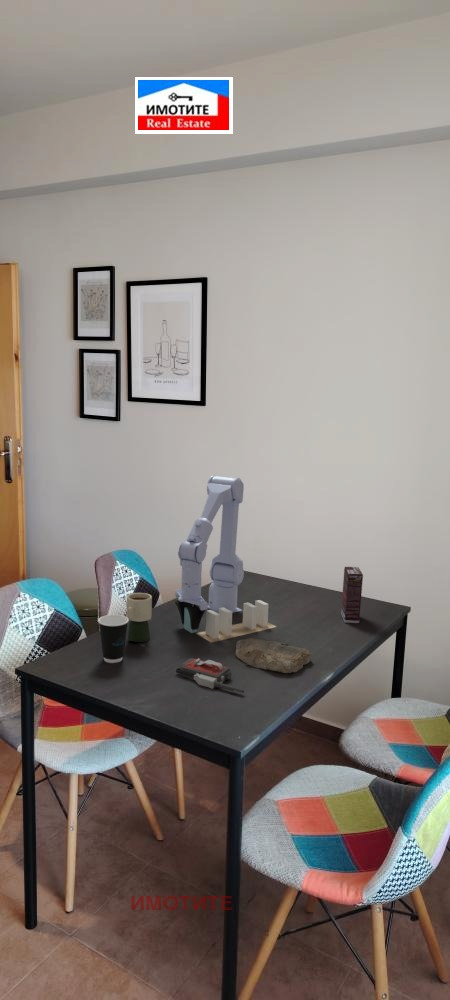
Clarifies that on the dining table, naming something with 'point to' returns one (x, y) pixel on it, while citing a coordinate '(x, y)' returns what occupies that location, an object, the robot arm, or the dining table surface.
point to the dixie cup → (113, 636)
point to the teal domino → (187, 621)
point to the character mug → (139, 616)
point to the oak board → (235, 632)
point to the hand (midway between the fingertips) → (190, 626)
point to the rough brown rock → (272, 655)
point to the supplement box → (351, 594)
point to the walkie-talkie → (207, 673)
